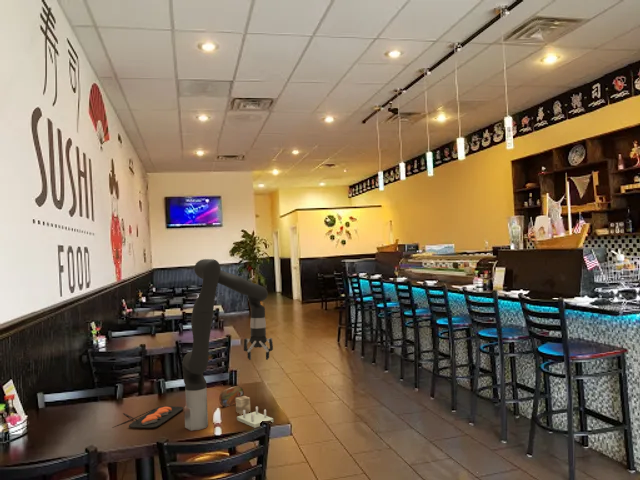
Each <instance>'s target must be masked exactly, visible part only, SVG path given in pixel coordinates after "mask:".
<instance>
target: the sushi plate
mask: <svg viewBox="0 0 640 480" xmlns="http://www.w3.org/2000/svg"><path fill="white" fill-rule="evenodd" d="M183 409H184V407H183V406H168V405H167V406H164V405H163V406H158V407H156V408H153V409H150V410H149V411H146V412H143V413H142V414H140V415H137V416H135V417H133V416H131V415H128V414H126V413H124V412H123V413H122V414H123V415H124V416H126V417H128V418H130V419H129V420H127V421H124V422H122V423H119V424H117V425H115V426H112V427H111V428H112V429H113V428H116V427H119V426H121V425H124V424H126V423H128V422H131V421H132V422H131V423H130V424H128V428H137V429H138V428H139V429H154V428H157V427H159V426H161V425H163V424H164V423H165V422H167V421H168V420H170V419H171V418H173V417H174V416H177V414H179V413H180V412H181V411H183ZM133 420H134V421H133Z"/></svg>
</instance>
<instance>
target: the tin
mask: <svg viewBox="0 0 640 480" xmlns="http://www.w3.org/2000/svg"><path fill="white" fill-rule="evenodd" d="M244 393H245V392H244V389H243V387H242V386H240V385H239V386H238V385H236V386H232V387H229V388H225V389H223V390H222V391H221V392H220V394H219V396H218V397H219V400H218V401H219V404H220V405H221V406H222V407H225V408H228V407H227V406H229V407H231V406H233V405H232V404H234V405H236V404H235V403H236V398H238V397H241V396H245V394H244ZM230 405H231V406H230Z"/></svg>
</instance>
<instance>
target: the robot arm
mask: <svg viewBox="0 0 640 480" xmlns="http://www.w3.org/2000/svg"><path fill="white" fill-rule="evenodd" d="M220 265H221V264H220V263H219V261H218V260H216V259H213V258H210V259H209V258H207V259H206V258H205V259H204V258H202V259H200V260H198V261H196V262H195V265H194V268H193V269H194V273H195V275H196V276H197V277H198V278H200V279H202V286H201V290H200V292H199V294H198V296H197V298H196V299H195V301H194V304H193V306H192V312H191V319H190V324H191V325H190V326H191V332H192V349H191V351H188V352H187V353H186V354H184V356H183V358H182V376H183V384H184V387H185V389H184V390H185V406H184V407H183V409H184V428H185V429H187V430H188V431H199V430H203V429H205V428H207V427H208V426H209V417H208V415H209V414H208V412H209V411H208V394H207V393H208V389H207V379H206V378H205V376H204V373H205V371H206V370H207V368H208V365H209V352H210V351H209V350H210V348H209V347H210V338H211V331H212V323H213V318H214V310H215V309H214V307H215V300H216V293H217V288H218V284H220V285H222V286H225V287H226V288H228V289H230V290H232V291H235V292H237V293H239V294H241V295H245V296H247V300H248V305H249V308H250V325H249V326H250V338H244V339H243V351H244V352H247V359H248V361H251V360H252V350H253V349H254V348H263V349H264V350H265V360H267V361H268V360H269V359H270V352H272V351H273V350H274V345H273V338H272V337H269V338H267V323H266V308H265V306H264V305H262V304H261V301H264V300H266V299H267V298H268V295H269V293H268V290H267V288H266V287H264V286H262V285H260V284H258V283H254V282H251V281H249V280H247V279H245V278H243V277H241V276H238V275H236V274H232V273H229V272H227V271H224V270H221V266H220ZM249 342H250V344H251V345H250V347H249V348H248V344H249ZM267 342H268V344H269V347H268V345H267V344H266V343H267Z"/></svg>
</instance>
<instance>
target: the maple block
mask: <svg viewBox="0 0 640 480" xmlns="http://www.w3.org/2000/svg"><path fill="white" fill-rule="evenodd" d="M243 410H245V414H248V413H249V412H250V413H251V397H249V396H246V395H244V396H241V397H238V398H236V404H235V413H236V412H237V414H238V413H239V415H240V416H241V415H242V414H243Z"/></svg>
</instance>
